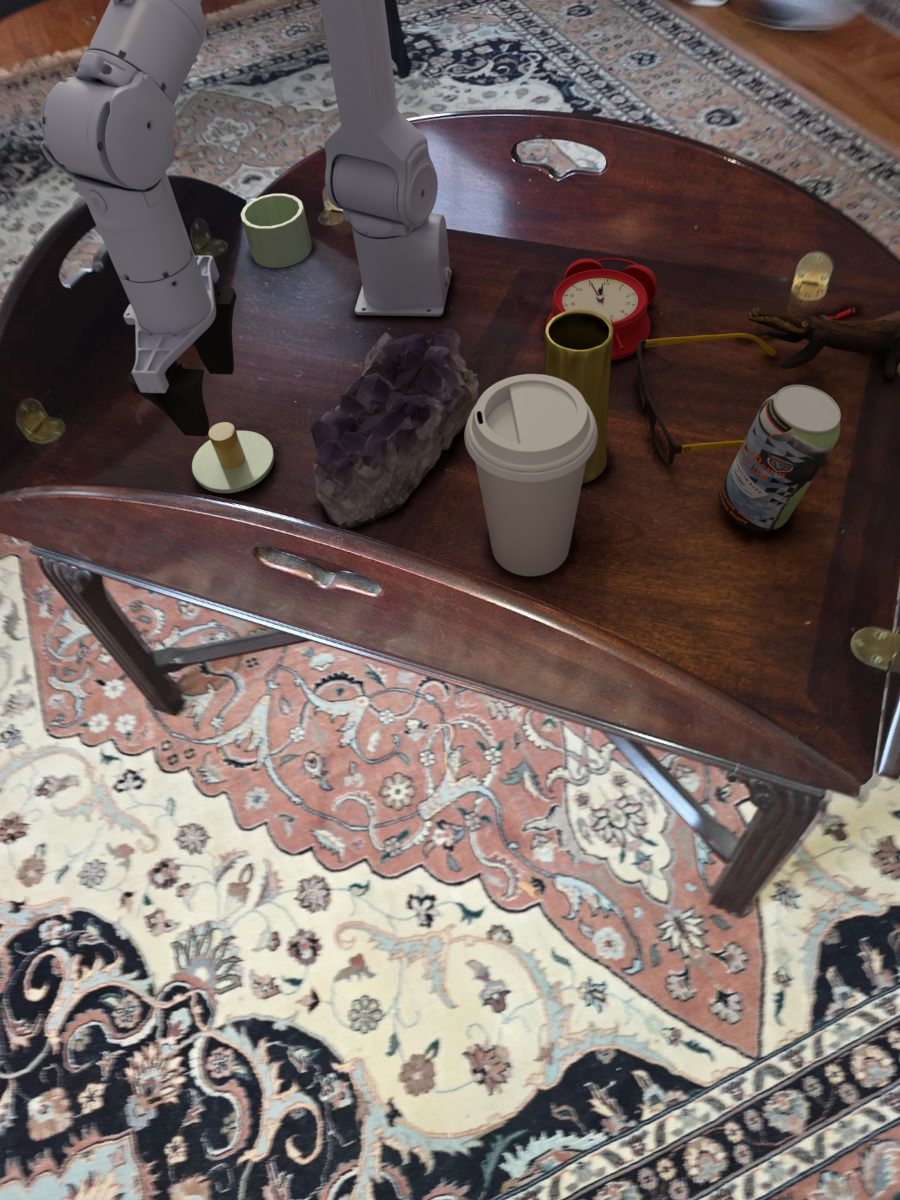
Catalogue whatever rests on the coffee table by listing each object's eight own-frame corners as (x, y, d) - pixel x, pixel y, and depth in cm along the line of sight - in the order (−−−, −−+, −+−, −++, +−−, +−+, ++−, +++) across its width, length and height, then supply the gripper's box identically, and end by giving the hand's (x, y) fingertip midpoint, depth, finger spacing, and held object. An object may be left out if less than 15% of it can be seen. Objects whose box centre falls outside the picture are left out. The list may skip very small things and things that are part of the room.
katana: (864, 313, 87) (862, 319, 87) (855, 303, 88) (854, 309, 88) (744, 345, 86) (743, 350, 87) (736, 335, 87) (735, 340, 88)
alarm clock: (531, 333, 84) (569, 216, 89) (535, 373, 90) (570, 261, 95) (639, 348, 81) (672, 227, 86) (636, 389, 87) (667, 273, 92)
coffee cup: (490, 494, 77) (483, 358, 65) (598, 513, 75) (611, 375, 63) (459, 579, 72) (445, 448, 60) (574, 602, 70) (583, 470, 58)
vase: (602, 489, 77) (615, 358, 65) (533, 482, 78) (533, 352, 66) (609, 440, 80) (623, 307, 68) (543, 434, 81) (544, 302, 69)
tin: (317, 233, 103) (309, 193, 99) (304, 268, 99) (294, 228, 95) (260, 232, 104) (249, 193, 100) (245, 268, 100) (233, 228, 96)
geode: (409, 553, 74) (376, 470, 66) (299, 526, 79) (256, 446, 71) (504, 393, 84) (485, 304, 76) (400, 378, 88) (372, 292, 80)
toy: (741, 370, 80) (768, 327, 76) (731, 318, 84) (756, 274, 80) (965, 414, 83) (1003, 375, 79) (945, 361, 87) (980, 321, 83)
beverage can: (707, 489, 76) (734, 380, 66) (792, 479, 76) (831, 369, 66) (727, 545, 72) (757, 438, 62) (816, 535, 72) (861, 427, 62)
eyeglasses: (625, 372, 85) (629, 338, 82) (774, 355, 85) (783, 320, 81) (658, 479, 76) (664, 447, 73) (823, 460, 76) (837, 426, 73)
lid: (284, 440, 83) (273, 403, 79) (264, 499, 79) (251, 463, 75) (208, 437, 84) (193, 400, 80) (184, 496, 80) (167, 460, 76)
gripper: (135, 204, 69) (190, 345, 80) (66, 321, 60) (137, 460, 71) (221, 204, 68) (264, 347, 79) (162, 322, 59) (220, 464, 70)
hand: (209, 401), depth 75 cm, fingers open, 7 cm apart
